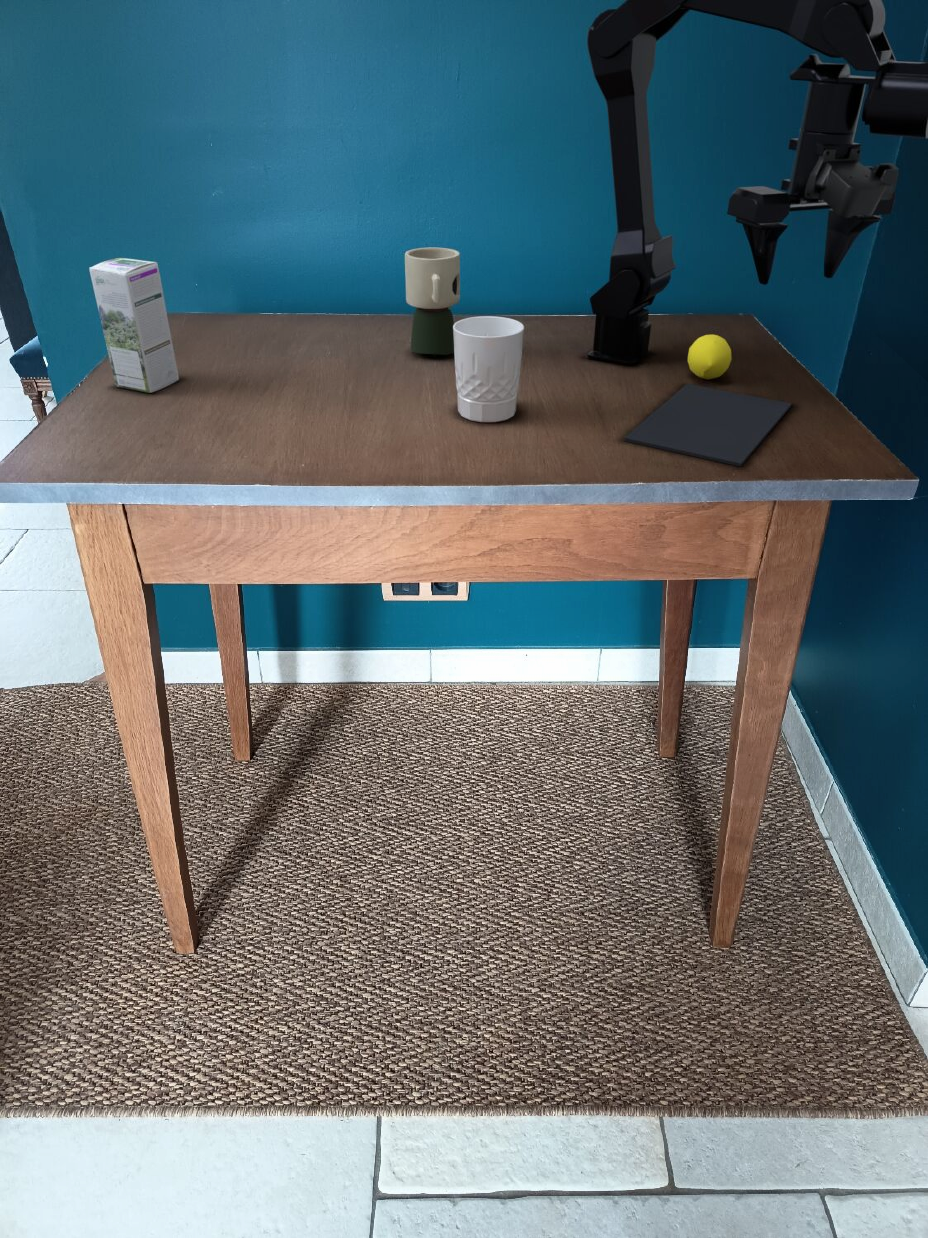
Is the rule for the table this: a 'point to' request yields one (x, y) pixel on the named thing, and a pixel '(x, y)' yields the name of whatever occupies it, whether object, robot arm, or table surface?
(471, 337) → the white cup
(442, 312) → the character mug
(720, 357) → the lemon
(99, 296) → the syrup box
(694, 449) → the desk mat
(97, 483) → the table surface
